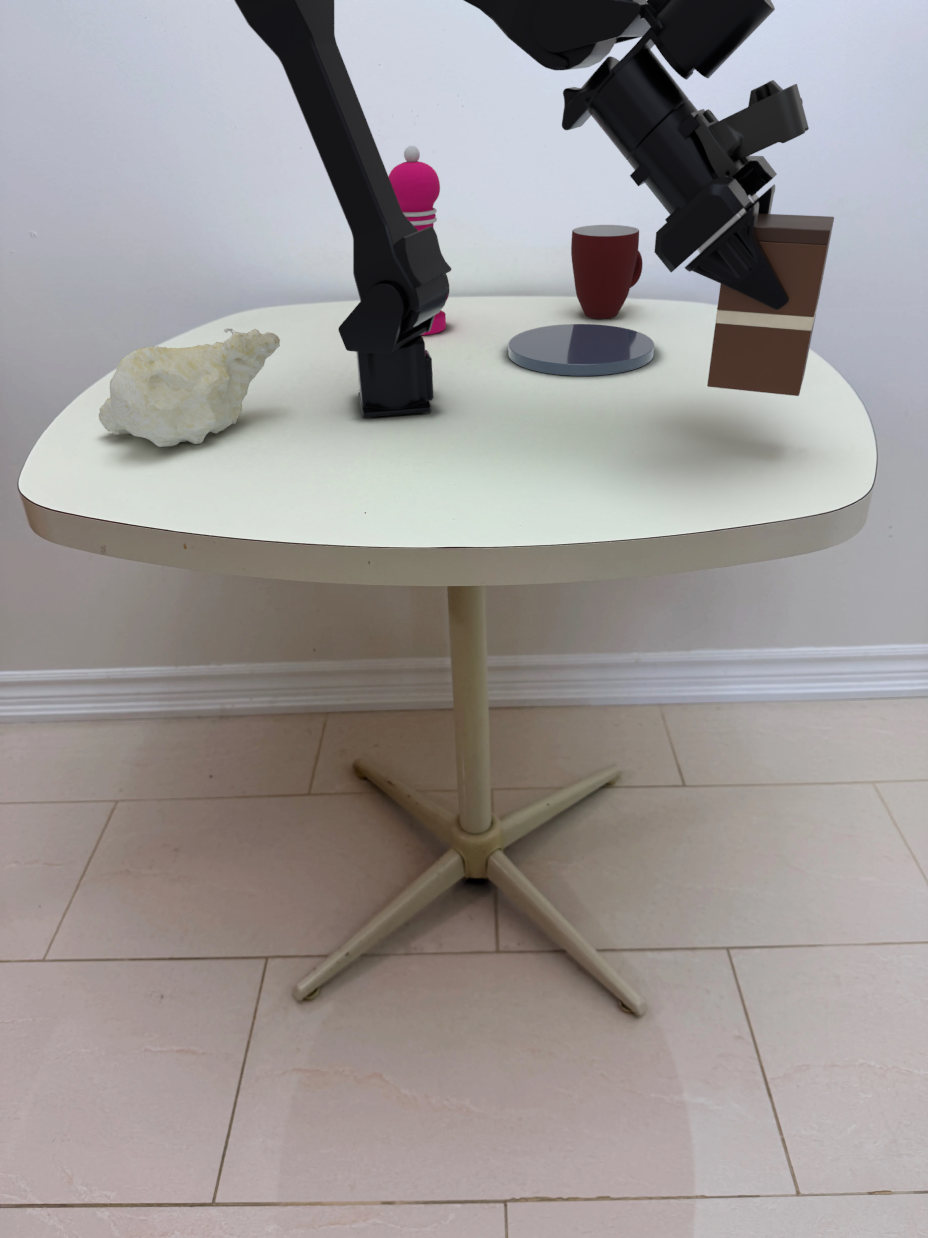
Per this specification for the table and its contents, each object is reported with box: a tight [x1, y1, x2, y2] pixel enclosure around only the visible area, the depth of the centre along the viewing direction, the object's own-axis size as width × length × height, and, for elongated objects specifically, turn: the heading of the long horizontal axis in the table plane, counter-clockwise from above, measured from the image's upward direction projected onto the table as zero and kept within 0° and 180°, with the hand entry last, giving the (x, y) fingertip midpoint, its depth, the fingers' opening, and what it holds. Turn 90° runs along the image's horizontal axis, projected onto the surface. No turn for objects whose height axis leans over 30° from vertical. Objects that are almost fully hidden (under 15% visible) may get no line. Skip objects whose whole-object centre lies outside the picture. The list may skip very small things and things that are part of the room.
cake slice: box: [706, 213, 835, 397], centre depth 69 cm, size 7×6×12 cm
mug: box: [570, 224, 643, 320], centre depth 111 cm, size 11×8×10 cm
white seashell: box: [98, 328, 281, 448], centre depth 80 cm, size 15×7×15 cm
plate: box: [507, 323, 655, 377], centre depth 100 cm, size 16×16×1 cm
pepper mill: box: [388, 145, 450, 336], centre depth 105 cm, size 7×7×20 cm
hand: (787, 296), depth 69 cm, fingers closed on cake slice, 5 cm apart
